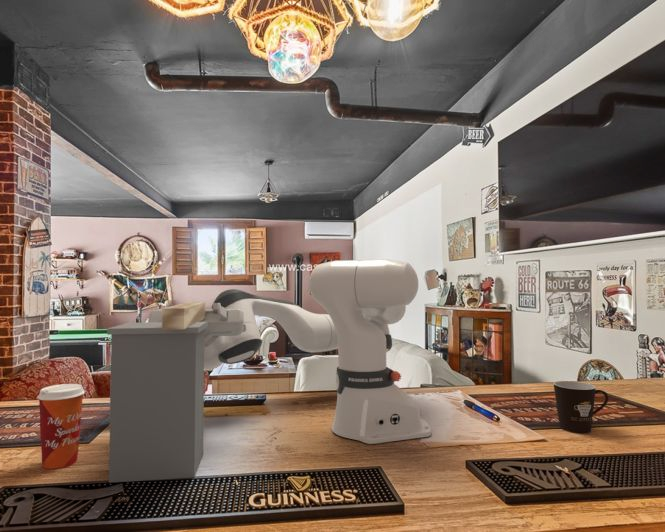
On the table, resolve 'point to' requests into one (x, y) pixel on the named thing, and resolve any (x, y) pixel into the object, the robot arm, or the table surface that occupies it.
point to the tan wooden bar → (182, 315)
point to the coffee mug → (576, 405)
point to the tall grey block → (156, 401)
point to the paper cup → (60, 424)
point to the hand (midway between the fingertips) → (193, 306)
